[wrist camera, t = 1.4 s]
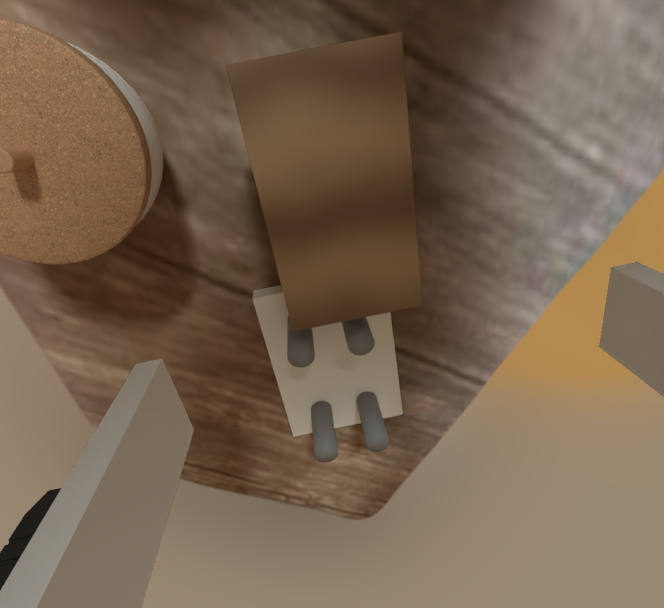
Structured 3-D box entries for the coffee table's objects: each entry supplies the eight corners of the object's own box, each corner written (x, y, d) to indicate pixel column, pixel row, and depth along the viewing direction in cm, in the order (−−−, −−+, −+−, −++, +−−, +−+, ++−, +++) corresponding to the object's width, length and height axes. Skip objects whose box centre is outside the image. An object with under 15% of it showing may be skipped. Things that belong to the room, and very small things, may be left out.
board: (232, 69, 20) (225, 65, 18) (389, 40, 20) (401, 31, 18) (292, 312, 26) (292, 331, 24) (411, 288, 26) (423, 305, 24)
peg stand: (253, 290, 31) (245, 333, 25) (381, 264, 31) (402, 301, 25) (293, 424, 37) (294, 483, 31) (398, 403, 37) (419, 458, 31)
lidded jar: (39, -4, 22) (-116, -73, 14) (214, 123, 25) (177, 131, 17) (-25, 162, 25) (-181, 190, 17) (139, 255, 29) (77, 316, 20)
